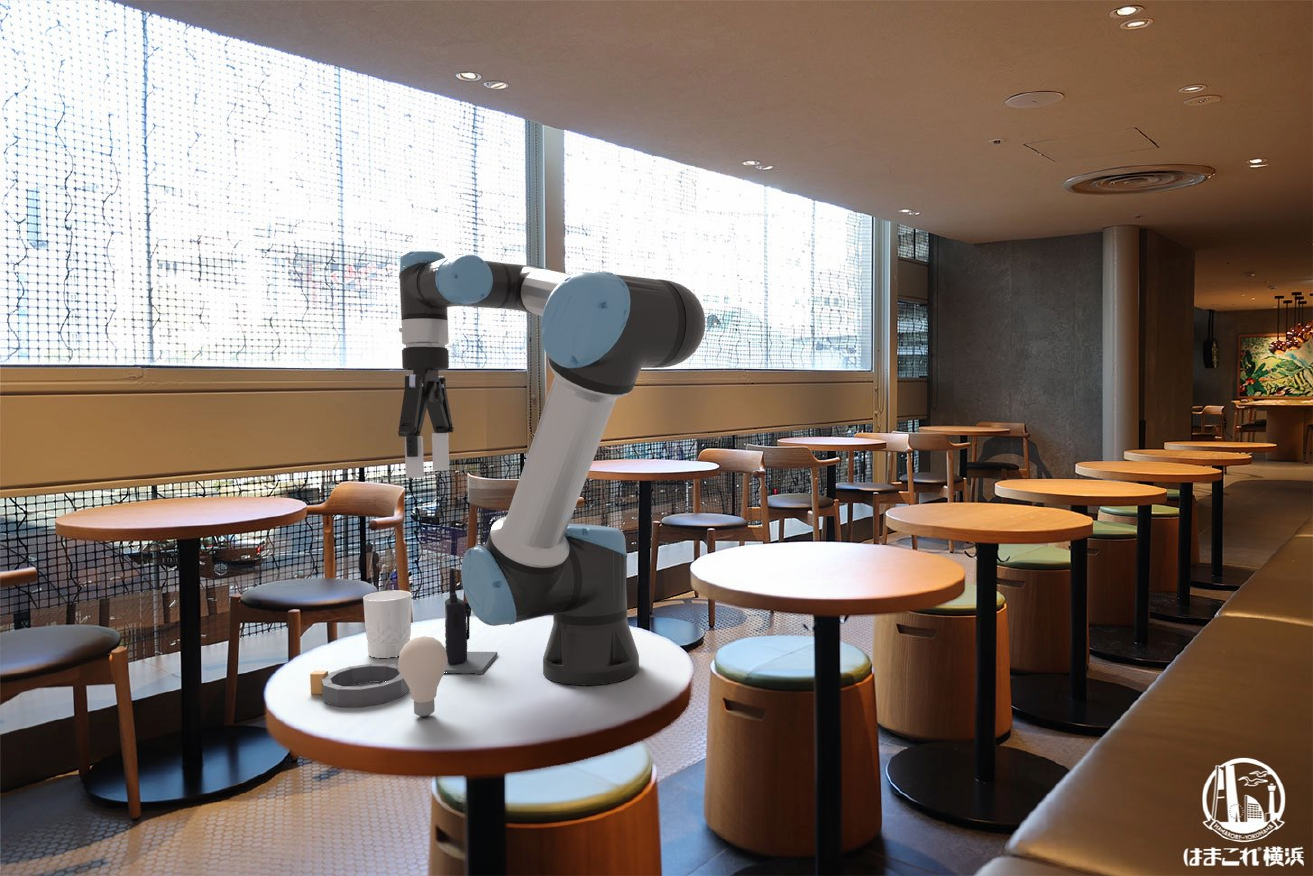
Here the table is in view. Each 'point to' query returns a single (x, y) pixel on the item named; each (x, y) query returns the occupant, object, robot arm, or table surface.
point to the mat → (472, 663)
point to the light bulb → (423, 671)
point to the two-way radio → (456, 625)
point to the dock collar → (344, 696)
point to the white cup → (387, 622)
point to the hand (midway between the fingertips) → (428, 474)
